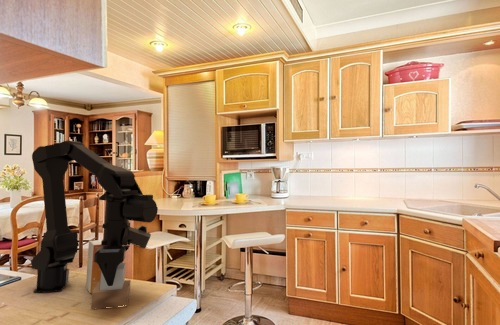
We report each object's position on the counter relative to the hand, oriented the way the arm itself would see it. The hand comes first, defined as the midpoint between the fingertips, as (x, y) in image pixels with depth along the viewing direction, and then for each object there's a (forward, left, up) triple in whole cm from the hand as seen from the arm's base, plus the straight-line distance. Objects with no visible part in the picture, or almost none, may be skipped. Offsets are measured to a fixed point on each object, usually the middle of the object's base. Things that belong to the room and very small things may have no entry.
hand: (112, 280), depth 75 cm
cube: (0, 0, -2) cm, 2 cm away
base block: (0, 0, -6) cm, 6 cm away
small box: (-4, +10, -6) cm, 12 cm away
